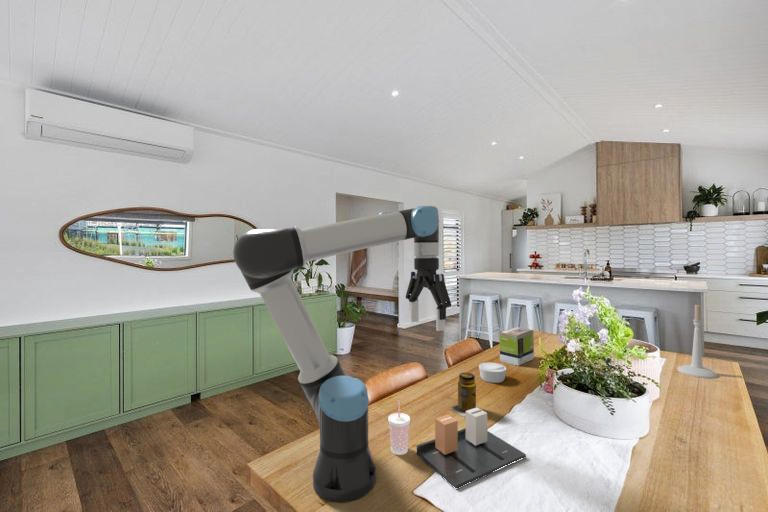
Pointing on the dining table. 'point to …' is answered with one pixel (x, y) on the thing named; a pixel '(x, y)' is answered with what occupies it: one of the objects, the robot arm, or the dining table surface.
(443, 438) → the fader terracotta
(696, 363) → the candlestick
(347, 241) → the robot arm
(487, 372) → the ramekin
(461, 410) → the condiment
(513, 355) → the tea box
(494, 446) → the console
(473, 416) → the fader ivory
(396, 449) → the beverage cup
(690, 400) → the dining table surface
